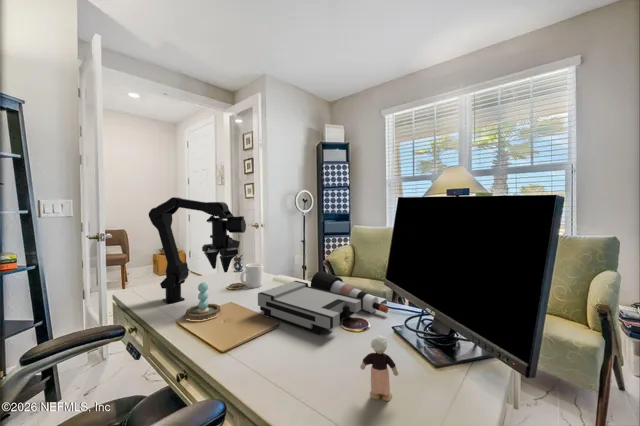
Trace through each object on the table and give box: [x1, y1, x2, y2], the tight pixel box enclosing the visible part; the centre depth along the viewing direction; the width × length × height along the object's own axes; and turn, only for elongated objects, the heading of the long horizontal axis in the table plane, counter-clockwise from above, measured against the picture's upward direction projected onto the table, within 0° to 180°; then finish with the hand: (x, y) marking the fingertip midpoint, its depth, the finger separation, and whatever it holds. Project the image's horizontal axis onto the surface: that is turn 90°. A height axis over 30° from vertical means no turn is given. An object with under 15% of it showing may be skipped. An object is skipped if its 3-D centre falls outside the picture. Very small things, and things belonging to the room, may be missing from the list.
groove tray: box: [184, 303, 222, 320], centre depth 99 cm, size 12×12×2 cm
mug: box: [239, 262, 264, 289], centre depth 134 cm, size 12×8×10 cm
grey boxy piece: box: [257, 280, 363, 336], centre depth 99 cm, size 21×32×8 cm, turn 54°
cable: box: [310, 270, 389, 314], centre depth 110 cm, size 10×34×10 cm, turn 47°
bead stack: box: [197, 282, 209, 314], centre depth 99 cm, size 4×4×11 cm
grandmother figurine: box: [359, 334, 399, 402], centre depth 58 cm, size 8×4×13 cm, turn 87°
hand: (219, 270), depth 113 cm, fingers open, 9 cm apart
